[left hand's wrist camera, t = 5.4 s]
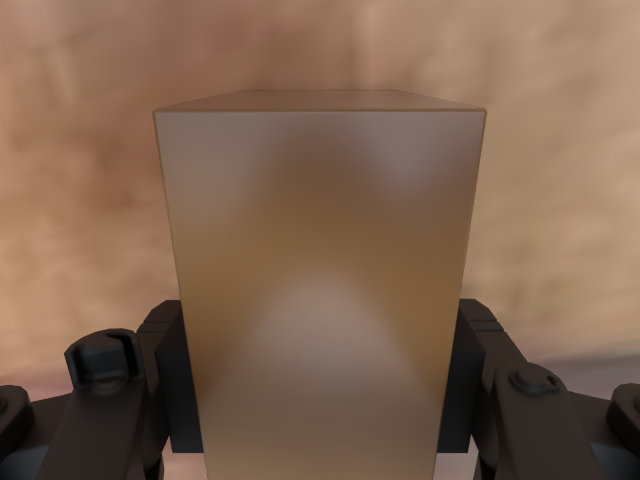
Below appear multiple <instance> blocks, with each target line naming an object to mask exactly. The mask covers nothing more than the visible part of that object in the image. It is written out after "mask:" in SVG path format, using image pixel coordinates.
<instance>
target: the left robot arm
mask: <svg viewBox="0 0 640 480" xmlns="http://www.w3.org/2000/svg"><path fill="white" fill-rule="evenodd" d="M64 356H65V359H66V363H67V366H68V370H69V373H70V377H71V380H72V384H73V387H74V389H73V391H72V393H69V394H65V395H62V396H57V397H53V398H48V399H43V400H39V401H34V402H30V399H29V396H28V393H27V391H26V390H24V389H23V388H22V387H21V386H14V385H5V386H0V480H163V478H164V463H163V458H162V451H163V449H164V446H165V444H166V441H167V439H168V437H169V436H170V441H171V447H172V452H173V453H204V450H203V444H202V437H201V430H200V424H199V417H198V411H197V404H196V397H195V391H194V384H193V377H192V371H191V364H190V358H189V351H188V344H187V338H186V331H185V325H184V318H183V311H182V305H181V300H166V301H164V302H163V303H161V304H160V305H158V306H157V307H155V308H154V309H152V310H151V312H150V313H149V314H148V316H147V317H146V319H145V320H144V323H142V324H141V325H140V327H139V328H138V330H137V333H134V332H133V331H131V330H127V329H123V328H119V329H106V330H102V331H98V332H94V333H92V334H89V335H87V336H85V337H82V338H81V339H79V340H78V341H76V342H75V343H73V344H72V345H70V347H69V348H68V349H67V350H66V351H65V353H64ZM471 434H472V436H473V439H474V441H475V443H476V446H477V448H478V451H479V453H478V458H477V463H476V468H475V473H474V478H473V480H640V384H634V383H629V384H622V385H619V386H618V387H617V388H616V389H614V391H613V394H612V397H611V400H610V401H609V400H605V399H600V398H596V397H591V396H586V395H582V394H578V393H574V392H570V391H568V390H567V388H566V387H565V385H564V384H563V382H562V381H561V379H560V378H558V377H557V376H556V375H555V374H553V373H552V372H551V371H549V370H547V369H545V368H543V367H541V366H539V365H537V364H533V363H529V362H527V360H526V359H525V358H524V356H523V355H522V354H521V352H520V351H519V349H518V348H517V347H516V345H515V344H514V343H513V341H512V340H511V338H510V337H509V336H508V334H507V333H506V332H504V329H503V327H502V326H501V325H500V323H499V322H497V319H496V318H495V316H494V315H493V314H492V312H491V311H490V310H489V308H487V307H486V306H484V305H483V304H481V303H480V302H478V301H477V300H475V299H459V305H458V312H457V319H456V326H455V333H454V339H453V346H452V353H451V360H450V366H449V373H448V380H447V387H446V394H445V400H444V407H443V414H442V421H441V428H440V434H439V441H438V448H437V453H468V448H469V443H470V437H471Z"/></svg>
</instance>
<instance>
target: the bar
mask: <svg viewBox="0 0 640 480" xmlns="http://www.w3.org/2000/svg"><path fill="white" fill-rule="evenodd" d="M486 115H487V111H486V109H484V108H480V107H475V106H470V105H466V104H461V103H456V102H451V101H446V100H441V99H436V98H432V97H427V96H422V95H417V94H412V93H407V92H402V91H238V92H233V93H229V94H224V95H219V96H214V97H210V98H205V99H200V100H195V101H191V102H186V103H181V104H176V105H172V106H167V107H162V108H158V109H155V110H153V120H154V126H155V133H156V140H157V146H158V153H159V159H160V166H161V173H162V179H163V186H164V192H165V199H166V206H167V212H168V219H169V225H170V232H171V239H172V245H173V252H174V259H175V265H176V272H177V278H178V285H179V292H180V298H181V305H182V311H183V318H184V325H185V331H186V338H187V344H188V351H189V358H190V364H191V371H192V377H193V384H194V391H195V397H196V404H197V411H198V417H199V424H200V430H201V437H202V444H203V450H204V457H205V463H206V470H207V477H208V480H433V475H434V468H435V461H436V455H437V448H438V441H439V434H440V428H441V421H442V414H443V407H444V400H445V394H446V387H447V380H448V373H449V366H450V360H451V353H452V346H453V339H454V333H455V326H456V319H457V312H458V305H459V299H460V292H461V285H462V278H463V271H464V265H465V258H466V251H467V244H468V238H469V231H470V224H471V217H472V210H473V204H474V197H475V190H476V183H477V176H478V170H479V163H480V156H481V149H482V143H483V136H484V129H485V122H486Z"/></svg>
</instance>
